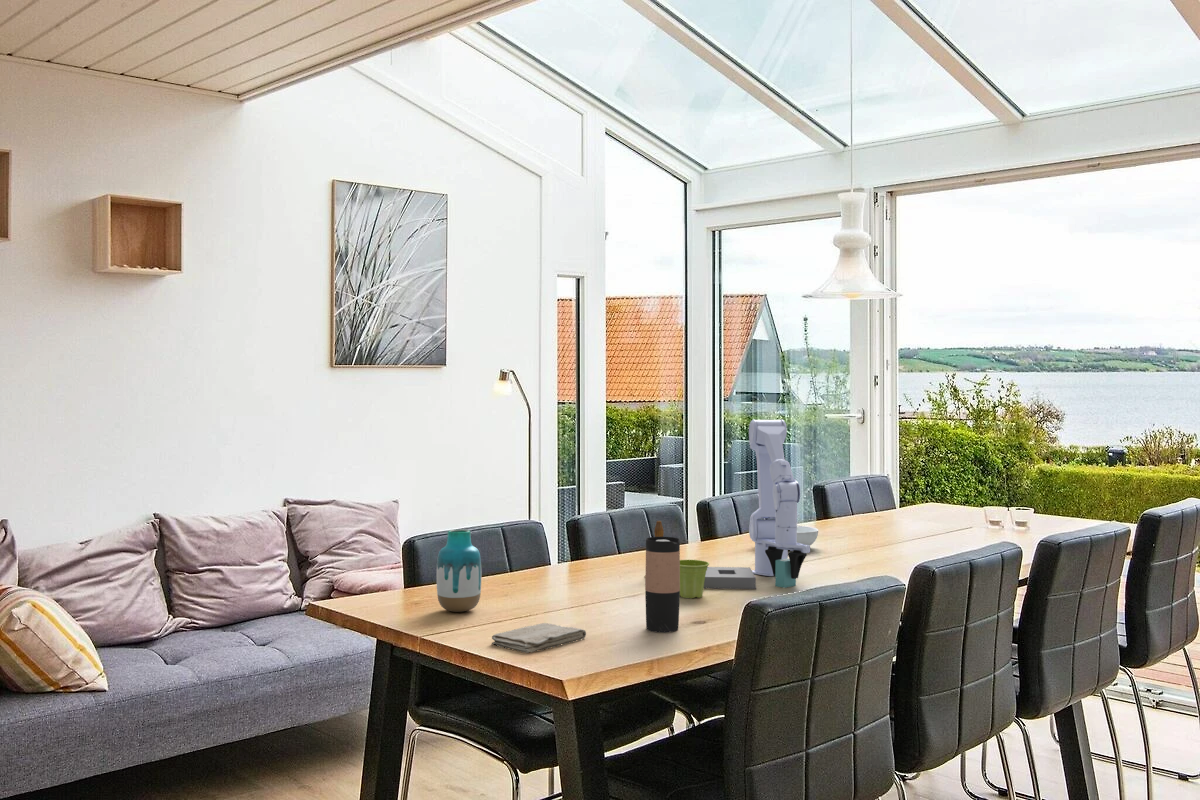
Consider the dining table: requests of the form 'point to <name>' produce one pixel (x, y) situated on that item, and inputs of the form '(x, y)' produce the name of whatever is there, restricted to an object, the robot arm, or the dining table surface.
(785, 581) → the keyed peg
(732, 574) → the keyed socket
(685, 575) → the plant pot
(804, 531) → the serving bowl
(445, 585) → the vase
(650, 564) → the travel mug
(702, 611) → the dining table surface
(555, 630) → the washcloth
